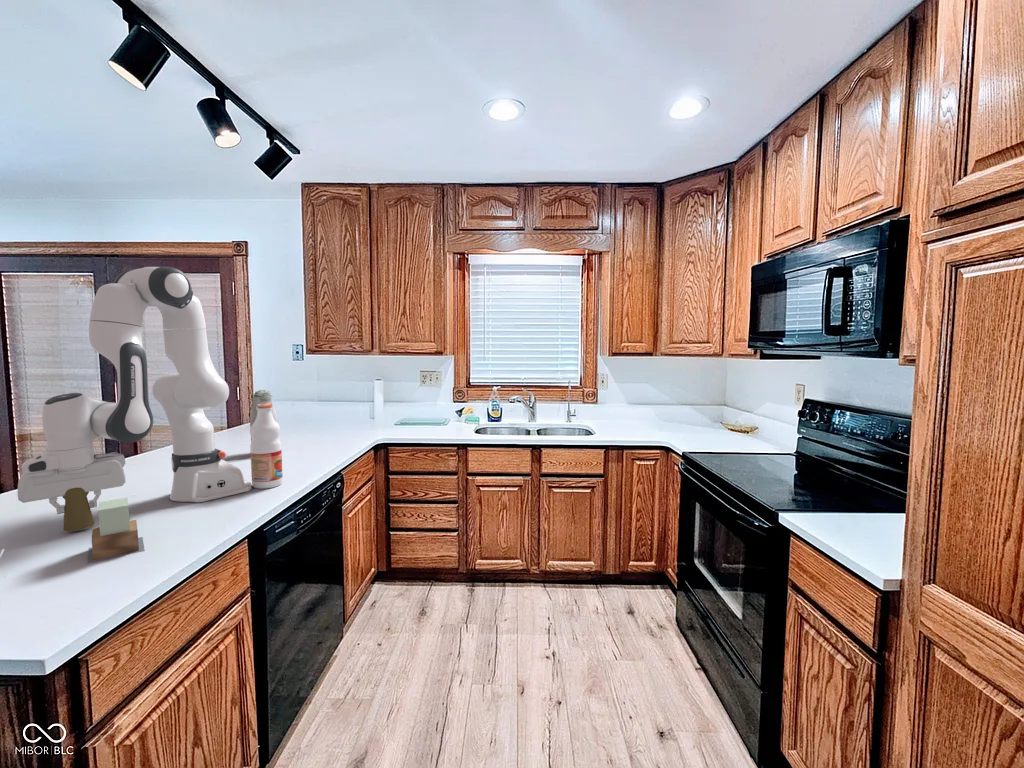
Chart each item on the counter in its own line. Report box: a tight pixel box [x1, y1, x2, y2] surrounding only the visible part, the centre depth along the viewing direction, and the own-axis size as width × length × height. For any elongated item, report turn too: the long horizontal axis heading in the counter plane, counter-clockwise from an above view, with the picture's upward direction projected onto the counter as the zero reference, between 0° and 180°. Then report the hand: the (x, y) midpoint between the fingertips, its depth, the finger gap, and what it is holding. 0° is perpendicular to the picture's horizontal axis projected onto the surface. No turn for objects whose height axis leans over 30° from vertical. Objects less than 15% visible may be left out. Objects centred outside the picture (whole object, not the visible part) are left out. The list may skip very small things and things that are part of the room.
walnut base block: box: [91, 519, 139, 561], centre depth 110 cm, size 8×8×5 cm
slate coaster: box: [86, 536, 145, 565], centre depth 111 cm, size 10×10×1 cm
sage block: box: [97, 497, 130, 536], centre depth 110 cm, size 5×7×6 cm
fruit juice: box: [249, 403, 284, 490], centre depth 161 cm, size 9×9×28 cm
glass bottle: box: [249, 389, 278, 443], centre depth 204 cm, size 10×10×28 cm
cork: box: [61, 488, 95, 532], centre depth 122 cm, size 6×6×11 cm
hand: (77, 510), depth 122 cm, fingers closed on cork, 5 cm apart
